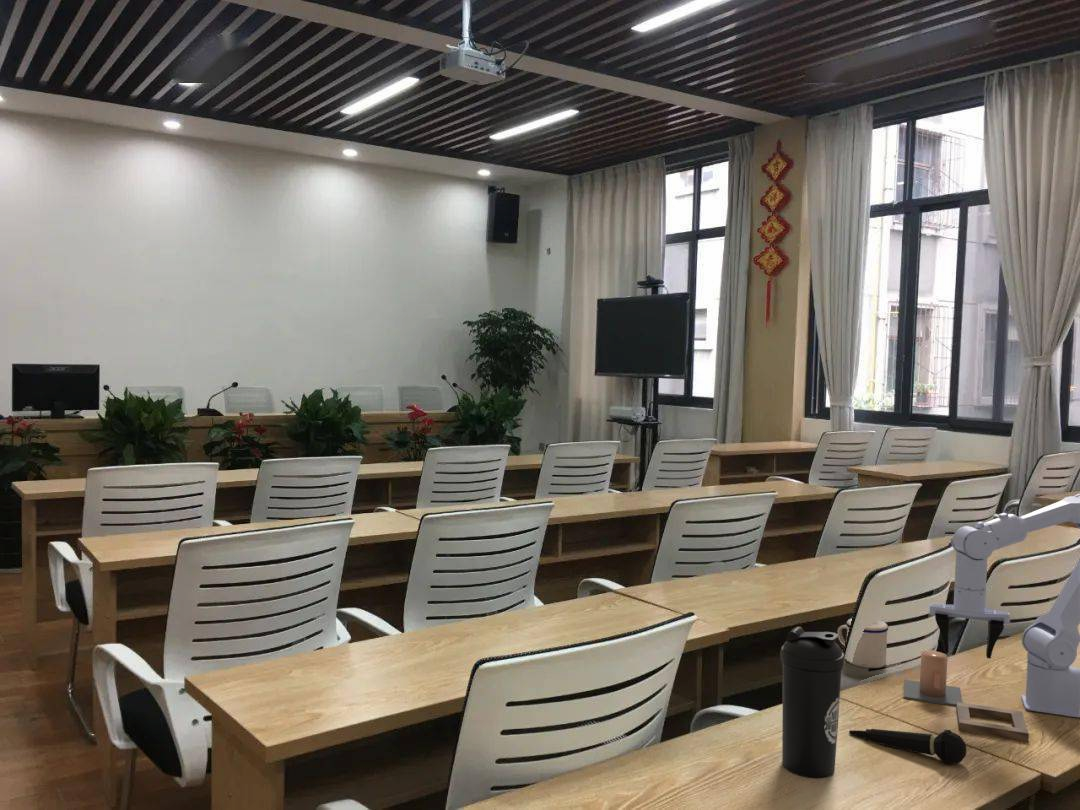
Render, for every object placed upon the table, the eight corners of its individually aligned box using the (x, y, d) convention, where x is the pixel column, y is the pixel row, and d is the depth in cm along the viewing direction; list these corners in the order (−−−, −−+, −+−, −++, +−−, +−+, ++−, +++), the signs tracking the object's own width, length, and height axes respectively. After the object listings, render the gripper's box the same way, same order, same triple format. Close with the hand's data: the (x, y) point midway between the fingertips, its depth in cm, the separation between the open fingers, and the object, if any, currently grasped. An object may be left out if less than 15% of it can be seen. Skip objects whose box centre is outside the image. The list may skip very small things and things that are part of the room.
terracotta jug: (917, 685, 190) (918, 648, 190) (942, 688, 189) (944, 651, 188) (923, 699, 182) (925, 660, 182) (949, 701, 181) (951, 663, 181)
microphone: (847, 754, 164) (965, 774, 151) (841, 727, 162) (959, 745, 150) (857, 736, 168) (972, 754, 155) (851, 709, 167) (966, 725, 154)
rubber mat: (960, 689, 190) (960, 687, 190) (962, 707, 180) (962, 705, 180) (904, 681, 194) (904, 679, 194) (903, 698, 184) (903, 696, 184)
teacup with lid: (894, 664, 205) (896, 613, 205) (872, 671, 200) (874, 620, 199) (848, 650, 215) (850, 602, 214) (826, 657, 209) (827, 607, 209)
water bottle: (831, 786, 144) (836, 645, 143) (769, 770, 149) (773, 633, 148) (846, 763, 153) (851, 630, 152) (787, 748, 158) (791, 619, 157)
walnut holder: (1021, 719, 174) (1021, 711, 174) (1028, 741, 163) (1028, 733, 163) (956, 709, 178) (956, 701, 178) (958, 730, 168) (959, 722, 168)
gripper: (1008, 587, 181) (1005, 653, 181) (930, 579, 186) (927, 643, 187) (1012, 595, 174) (1009, 664, 175) (931, 586, 180) (928, 653, 180)
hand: (967, 654), depth 180 cm, fingers open, 7 cm apart
